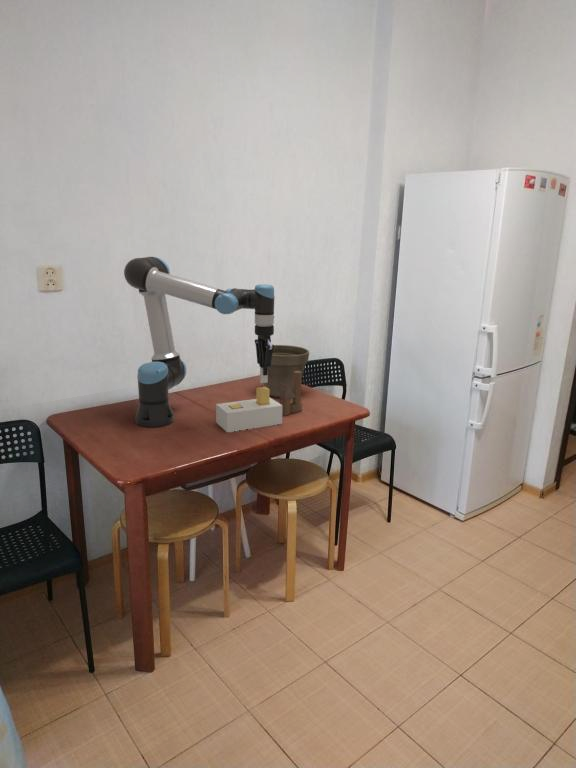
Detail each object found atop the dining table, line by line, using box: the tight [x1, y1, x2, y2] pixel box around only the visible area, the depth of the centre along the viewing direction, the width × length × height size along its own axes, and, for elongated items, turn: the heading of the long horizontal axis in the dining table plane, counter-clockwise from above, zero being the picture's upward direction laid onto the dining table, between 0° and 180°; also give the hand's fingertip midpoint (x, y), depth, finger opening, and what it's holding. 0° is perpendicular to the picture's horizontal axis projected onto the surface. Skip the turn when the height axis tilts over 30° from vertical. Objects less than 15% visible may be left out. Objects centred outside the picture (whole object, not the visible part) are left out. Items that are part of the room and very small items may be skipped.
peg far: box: [255, 386, 270, 405], centre depth 219 cm, size 4×4×8 cm
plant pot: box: [263, 344, 310, 398], centre depth 257 cm, size 25×25×22 cm
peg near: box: [229, 404, 242, 409], centre depth 215 cm, size 4×4×8 cm
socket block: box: [215, 396, 283, 434], centre depth 218 cm, size 24×12×8 cm, turn 118°
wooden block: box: [278, 371, 303, 417], centre depth 231 cm, size 4×11×18 cm, turn 135°
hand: (263, 382), depth 217 cm, fingers closed
